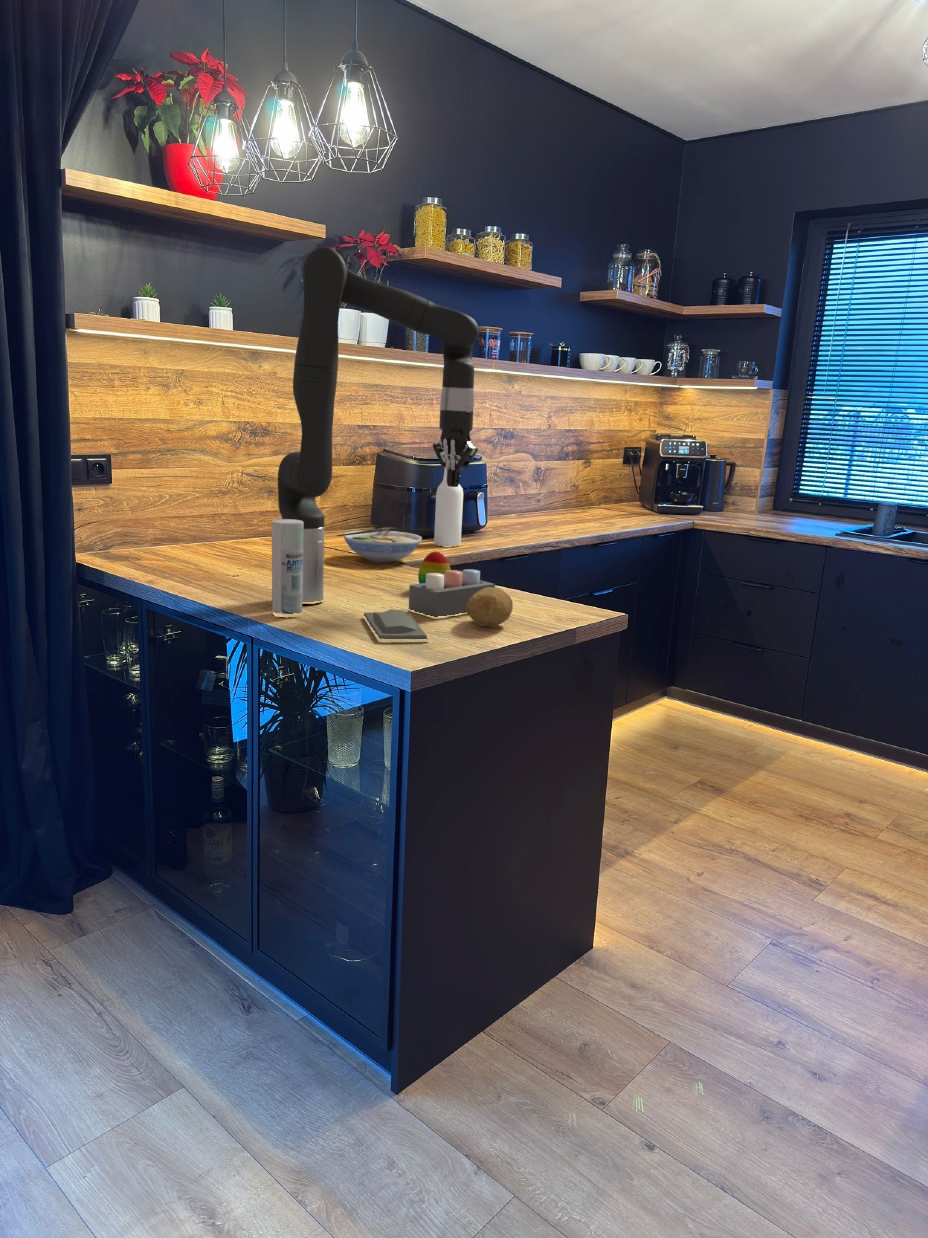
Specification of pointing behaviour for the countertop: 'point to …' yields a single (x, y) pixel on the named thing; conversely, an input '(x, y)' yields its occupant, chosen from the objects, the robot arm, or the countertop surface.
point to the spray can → (287, 565)
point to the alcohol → (448, 514)
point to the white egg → (435, 581)
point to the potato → (490, 606)
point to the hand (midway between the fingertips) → (452, 486)
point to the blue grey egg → (471, 576)
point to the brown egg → (453, 578)
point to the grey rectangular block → (443, 598)
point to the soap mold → (395, 625)
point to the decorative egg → (433, 566)
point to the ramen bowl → (382, 544)
